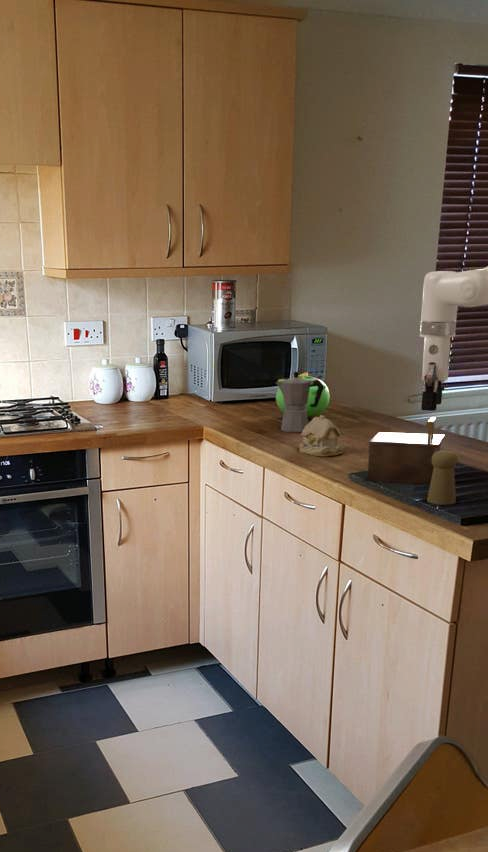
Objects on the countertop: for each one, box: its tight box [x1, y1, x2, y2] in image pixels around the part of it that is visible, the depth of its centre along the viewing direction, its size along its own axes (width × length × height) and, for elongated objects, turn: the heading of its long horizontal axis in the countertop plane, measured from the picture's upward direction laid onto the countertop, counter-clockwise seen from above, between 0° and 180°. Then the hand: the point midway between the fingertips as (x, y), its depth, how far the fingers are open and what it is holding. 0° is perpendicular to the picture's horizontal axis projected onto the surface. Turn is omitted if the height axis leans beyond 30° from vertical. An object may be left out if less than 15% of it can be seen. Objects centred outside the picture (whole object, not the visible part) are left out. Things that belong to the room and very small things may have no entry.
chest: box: [367, 445, 441, 486], centre depth 206 cm, size 15×13×9 cm
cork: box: [426, 450, 459, 506], centre depth 184 cm, size 6×6×11 cm
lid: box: [368, 416, 446, 448], centre depth 204 cm, size 15×13×5 cm
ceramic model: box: [298, 414, 344, 457], centre depth 239 cm, size 14×11×10 cm
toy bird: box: [275, 372, 331, 419], centre depth 295 cm, size 18×17×15 cm
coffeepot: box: [275, 371, 324, 433], centre depth 272 cm, size 15×9×18 cm, turn 63°
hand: (431, 407), depth 200 cm, fingers open, 9 cm apart
